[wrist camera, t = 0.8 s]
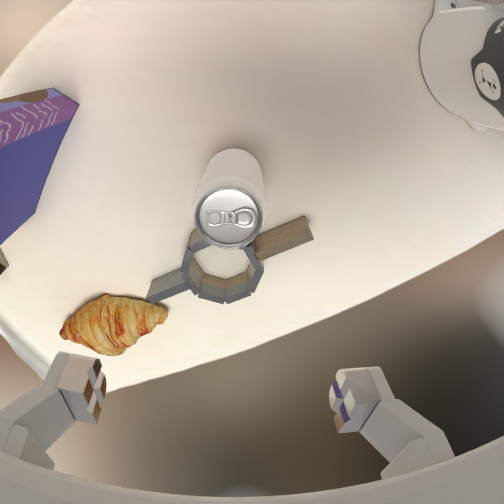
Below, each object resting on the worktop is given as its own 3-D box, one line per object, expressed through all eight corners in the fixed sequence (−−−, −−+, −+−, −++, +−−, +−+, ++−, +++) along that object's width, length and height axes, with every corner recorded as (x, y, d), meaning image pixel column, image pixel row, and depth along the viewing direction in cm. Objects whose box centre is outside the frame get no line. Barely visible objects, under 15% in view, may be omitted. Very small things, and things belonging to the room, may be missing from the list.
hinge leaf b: (240, 209, 39) (239, 224, 35) (271, 268, 43) (273, 286, 40) (136, 257, 42) (127, 274, 39) (173, 306, 46) (168, 325, 43)
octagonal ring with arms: (292, 186, 37) (296, 199, 34) (318, 249, 42) (325, 266, 38) (173, 239, 41) (167, 256, 37) (209, 292, 45) (206, 311, 42)
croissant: (165, 277, 48) (143, 285, 40) (184, 338, 49) (167, 357, 41) (65, 303, 50) (37, 313, 43) (82, 356, 51) (58, 371, 43)
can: (261, 200, 38) (267, 252, 28) (207, 200, 38) (192, 254, 28) (261, 146, 35) (269, 181, 25) (204, 148, 35) (185, 183, 24)
